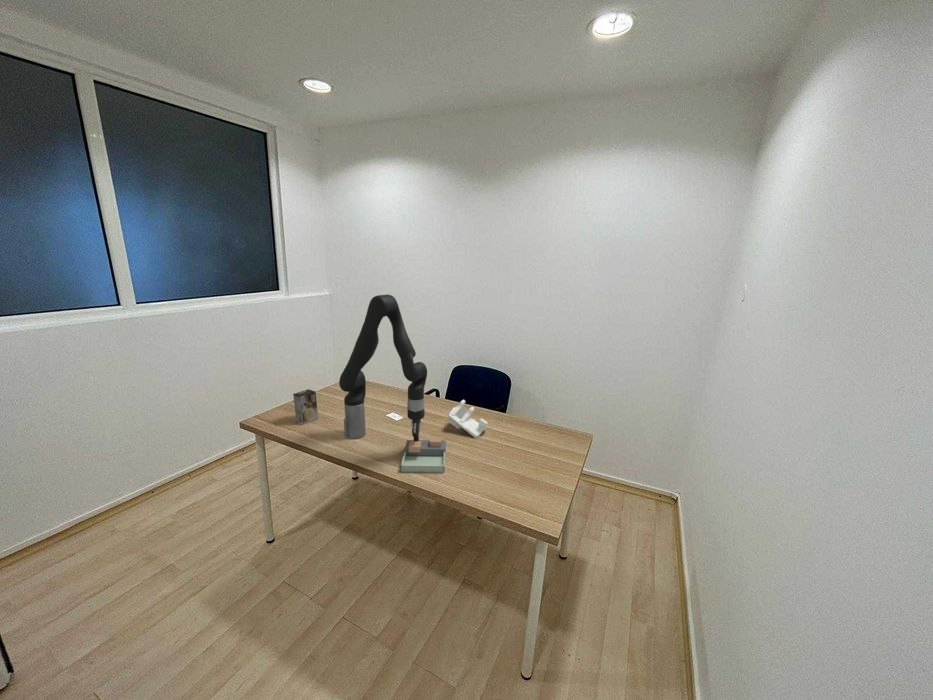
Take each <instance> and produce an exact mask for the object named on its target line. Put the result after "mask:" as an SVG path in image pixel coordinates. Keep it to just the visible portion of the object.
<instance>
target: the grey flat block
mask: <svg viewBox="0 0 933 700" xmlns="http://www.w3.org/2000/svg"><path fill="white" fill-rule="evenodd" d="M410 441H414V439H407V440H406V443H405V446H404V452H405V451H406V456H428V457H444V452H445V453H446V452H447V451H446V450H447V449H446V448H447V445H446V444H447V441H446V440H445V439H444V440H443V439H442V440H441V447H430V439H426V440H425V439H419V441H421V451H420V452H409V443H410Z"/></svg>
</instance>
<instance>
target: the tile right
mask: <svg viewBox="0 0 933 700" xmlns="http://www.w3.org/2000/svg"><path fill="white" fill-rule="evenodd" d="M429 440H430V447H441V440H443V439H442V436H435V435H434V436H433V435H432V436H430V439H429Z"/></svg>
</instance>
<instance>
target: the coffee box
mask: <svg viewBox="0 0 933 700" xmlns="http://www.w3.org/2000/svg"><path fill="white" fill-rule="evenodd" d="M316 393H317V392H316V391H315V390H312V389H309V388H308V389H305V390H302V391H299V392H296V393H292V395H293V404H294V412H295V414H294V415H295V421H298V422H300V423H302V424H304V425H306V424H305V423H307V422H309V423H311V422H314V421H316V420H318V419H319V413H318V402H317V394H316ZM313 420H314V421H313ZM310 421H311V422H310ZM298 422H297V423H298ZM300 423H299V424H300ZM302 424H301V425H302ZM307 424H308V423H307Z"/></svg>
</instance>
